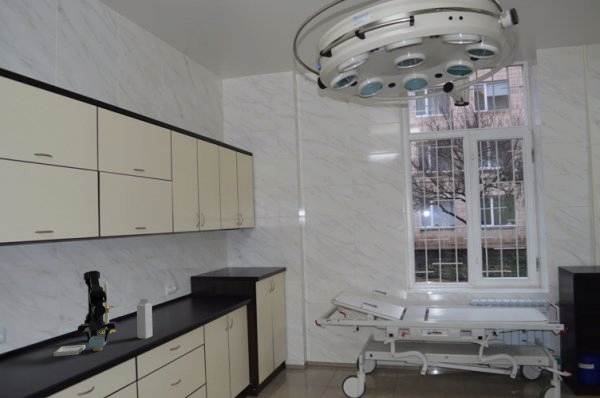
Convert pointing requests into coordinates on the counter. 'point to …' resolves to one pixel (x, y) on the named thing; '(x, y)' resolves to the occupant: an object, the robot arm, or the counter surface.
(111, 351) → the counter surface
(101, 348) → the beige jar
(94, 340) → the light blue box
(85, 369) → the counter surface
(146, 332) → the milk
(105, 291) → the candle
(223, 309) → the counter surface
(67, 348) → the dish
